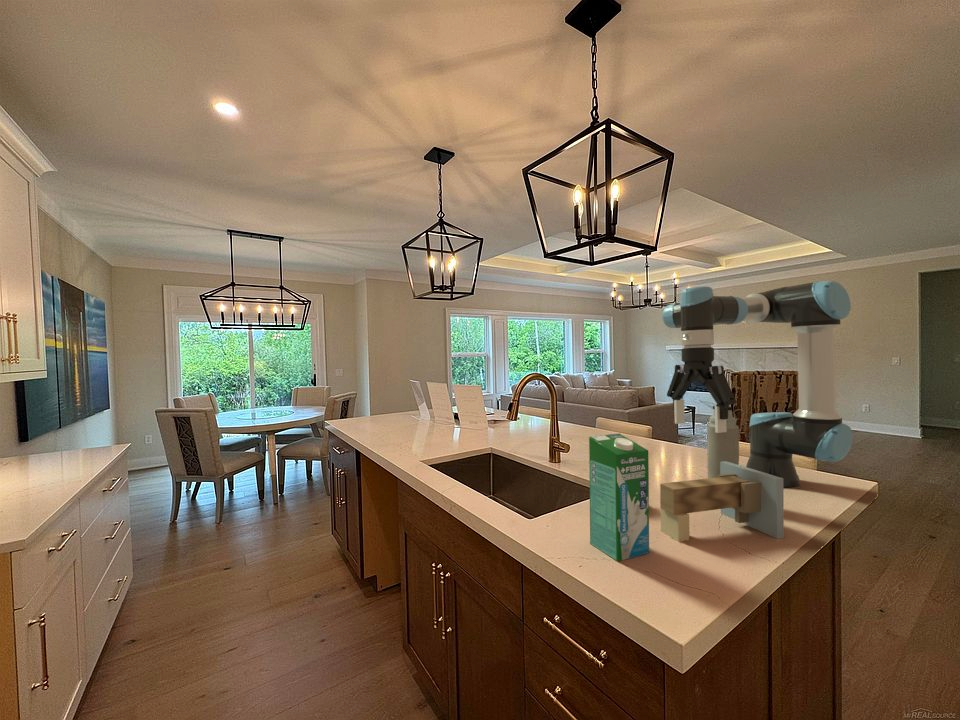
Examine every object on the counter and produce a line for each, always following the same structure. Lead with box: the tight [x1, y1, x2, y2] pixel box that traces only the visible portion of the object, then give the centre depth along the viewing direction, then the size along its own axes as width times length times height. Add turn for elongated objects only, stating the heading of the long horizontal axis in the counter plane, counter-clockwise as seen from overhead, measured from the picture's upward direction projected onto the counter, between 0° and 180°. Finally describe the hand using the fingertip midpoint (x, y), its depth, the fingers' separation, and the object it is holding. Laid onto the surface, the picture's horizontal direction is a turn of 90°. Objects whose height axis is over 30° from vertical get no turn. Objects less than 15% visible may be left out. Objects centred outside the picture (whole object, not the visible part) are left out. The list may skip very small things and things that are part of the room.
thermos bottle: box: [706, 405, 740, 479], centre depth 118 cm, size 8×8×28 cm
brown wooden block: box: [659, 476, 749, 515], centre depth 99 cm, size 22×4×6 cm, turn 104°
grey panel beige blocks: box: [660, 461, 785, 543], centre depth 99 cm, size 25×16×14 cm, turn 104°
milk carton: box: [588, 433, 650, 562], centre depth 91 cm, size 9×9×25 cm
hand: (699, 427), depth 106 cm, fingers open, 13 cm apart
